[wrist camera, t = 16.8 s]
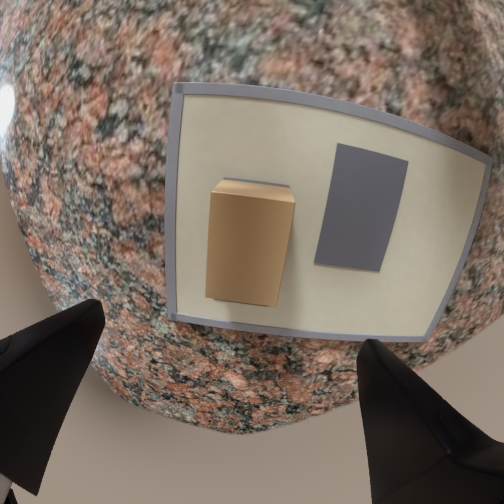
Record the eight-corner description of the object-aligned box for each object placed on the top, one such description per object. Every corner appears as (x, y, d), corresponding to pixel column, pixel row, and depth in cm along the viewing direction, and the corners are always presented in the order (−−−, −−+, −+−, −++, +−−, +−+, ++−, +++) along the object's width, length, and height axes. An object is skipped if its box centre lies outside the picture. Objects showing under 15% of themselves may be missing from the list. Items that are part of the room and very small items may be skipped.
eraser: (290, 185, 16) (295, 202, 13) (275, 272, 19) (276, 307, 15) (224, 177, 16) (210, 190, 13) (217, 264, 19) (204, 297, 15)
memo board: (487, 156, 15) (494, 158, 14) (423, 336, 22) (427, 342, 21) (177, 84, 15) (173, 82, 14) (171, 312, 22) (167, 319, 21)
